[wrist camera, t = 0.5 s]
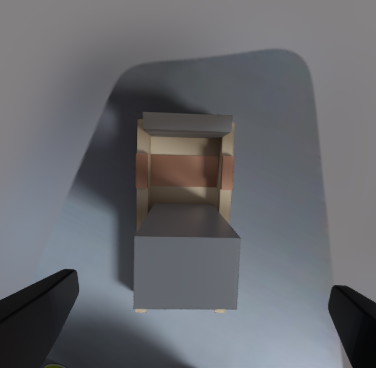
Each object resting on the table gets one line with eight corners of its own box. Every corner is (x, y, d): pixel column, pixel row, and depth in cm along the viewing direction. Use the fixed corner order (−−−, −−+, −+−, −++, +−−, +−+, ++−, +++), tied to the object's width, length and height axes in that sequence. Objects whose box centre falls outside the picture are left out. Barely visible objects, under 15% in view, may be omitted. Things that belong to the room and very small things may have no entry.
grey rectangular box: (210, 244, 22) (236, 309, 12) (153, 243, 22) (133, 309, 12) (212, 204, 22) (240, 238, 12) (154, 202, 22) (134, 236, 12)
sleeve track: (221, 294, 25) (236, 340, 19) (138, 294, 25) (124, 341, 18) (229, 128, 23) (248, 114, 17) (140, 124, 23) (126, 109, 17)
